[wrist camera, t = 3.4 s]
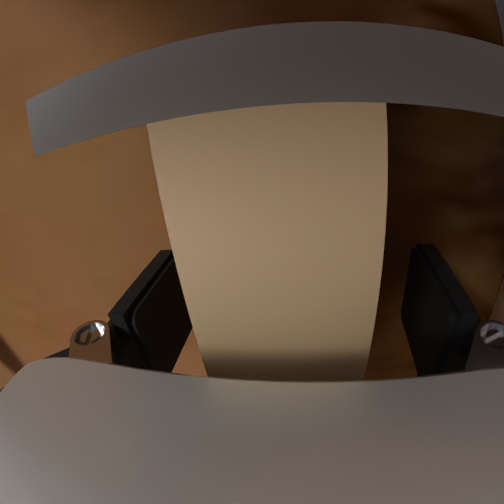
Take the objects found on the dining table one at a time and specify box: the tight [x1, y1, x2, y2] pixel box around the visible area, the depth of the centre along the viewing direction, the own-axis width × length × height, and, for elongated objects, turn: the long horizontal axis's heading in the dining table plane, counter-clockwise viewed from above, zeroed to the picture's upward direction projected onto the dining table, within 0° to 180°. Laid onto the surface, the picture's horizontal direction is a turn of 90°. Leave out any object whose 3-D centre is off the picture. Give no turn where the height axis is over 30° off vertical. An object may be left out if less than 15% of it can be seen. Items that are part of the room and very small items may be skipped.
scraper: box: [26, 21, 504, 382], centre depth 9 cm, size 13×9×6 cm
